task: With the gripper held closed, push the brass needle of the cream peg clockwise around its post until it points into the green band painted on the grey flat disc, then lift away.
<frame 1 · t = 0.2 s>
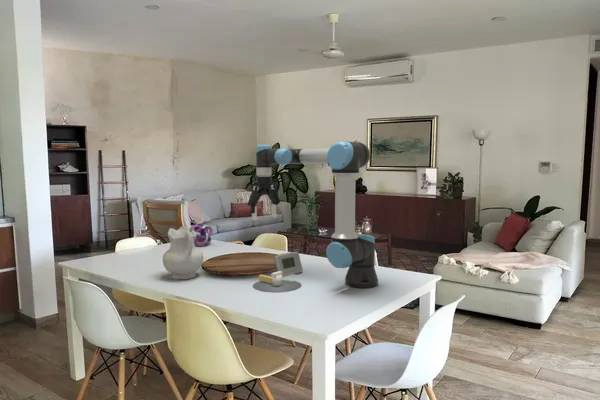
hand: (264, 218, 232), 28 cm above the table, fingers open, 13 cm apart
ceramic pitcher: (185, 277, 226), on the table
sculpture: (200, 245, 308), on the table
grey flat disc: (277, 287, 208), on the table
digital clock: (288, 275, 230), on the table
peg: (270, 277, 210), point 4 cm above the table, hinge at 0.0°
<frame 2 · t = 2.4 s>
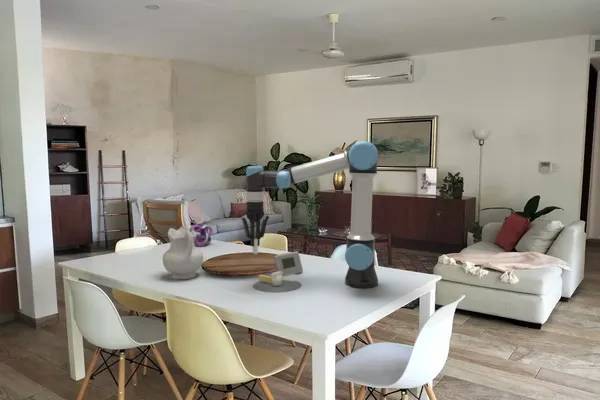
hand: (255, 253, 208), 15 cm above the table, fingers closed
nothing on the table moved.
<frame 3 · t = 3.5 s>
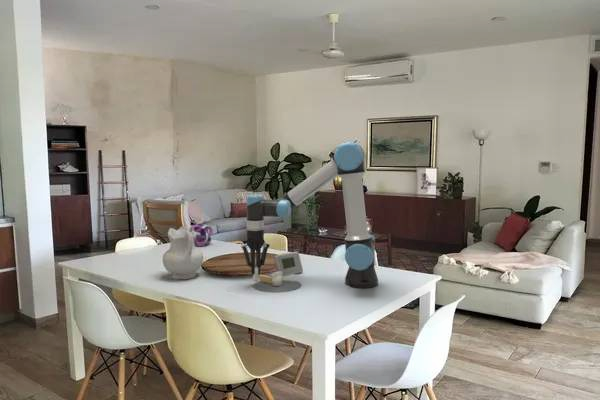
hand: (255, 281, 209), 3 cm above the table, fingers closed
nothing on the table moved.
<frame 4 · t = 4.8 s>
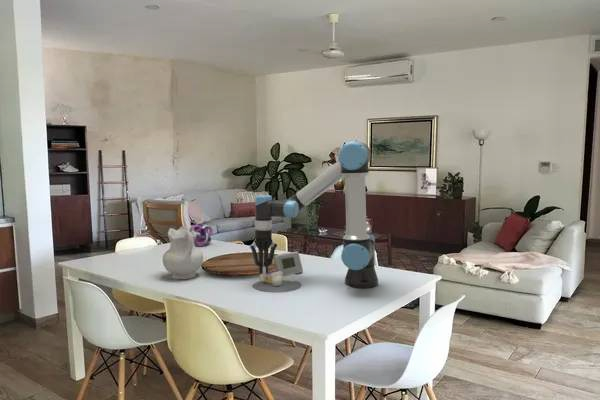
hand: (263, 280, 211), 2 cm above the table, fingers closed
peg: (270, 276, 211), point 4 cm above the table, hinge at -2.6°, touching gripper
everything else where it was.
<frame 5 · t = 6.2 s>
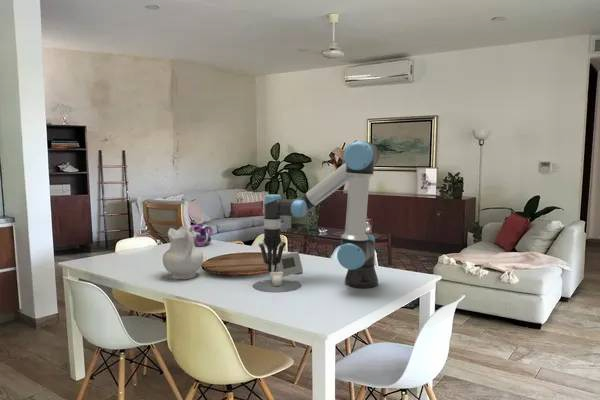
hand: (271, 278, 214), 2 cm above the table, fingers closed
peg: (275, 276, 212), point 4 cm above the table, hinge at -39.0°, touching gripper
everything else where it was.
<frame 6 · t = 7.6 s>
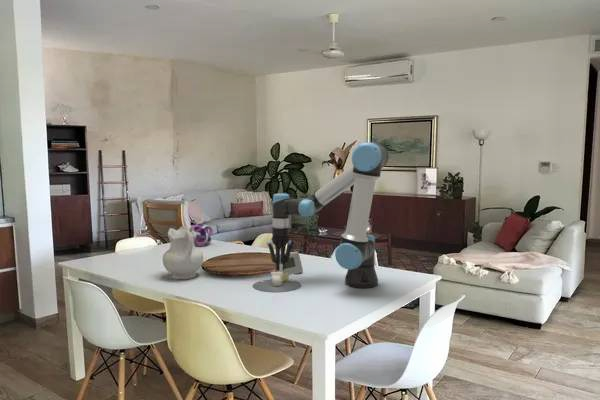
hand: (280, 277, 215), 3 cm above the table, fingers closed
peg: (281, 276, 212), point 4 cm above the table, hinge at -72.2°, touching gripper
everything else where it was.
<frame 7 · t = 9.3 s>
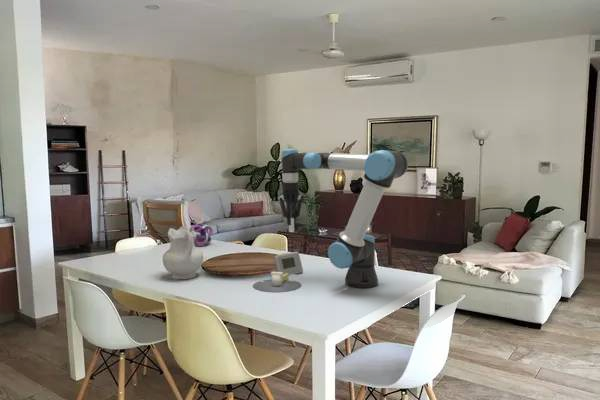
hand: (291, 231, 219), 23 cm above the table, fingers closed
peg: (281, 276, 212), point 4 cm above the table, hinge at -72.3°
everything else where it was.
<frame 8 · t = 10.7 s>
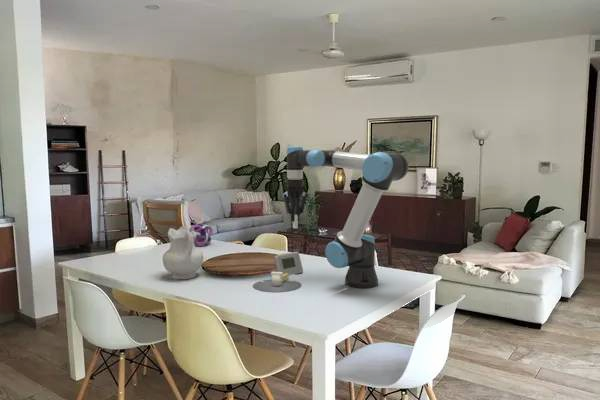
hand: (295, 228, 221), 24 cm above the table, fingers closed
nothing on the table moved.
at the end: peg at -72° (first picture: +0°) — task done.
